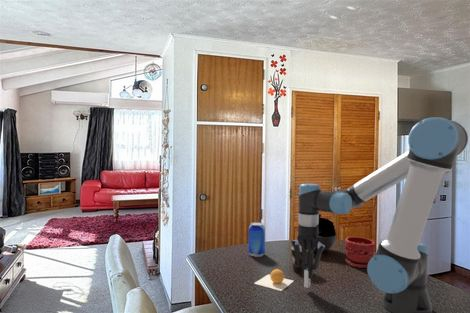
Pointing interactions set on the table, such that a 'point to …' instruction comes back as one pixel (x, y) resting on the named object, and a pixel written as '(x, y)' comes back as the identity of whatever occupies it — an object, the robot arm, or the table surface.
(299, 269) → the coffee mug
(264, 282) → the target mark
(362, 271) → the table surface
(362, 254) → the plant pot
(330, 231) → the bowl of black rocks
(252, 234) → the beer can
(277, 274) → the ball
